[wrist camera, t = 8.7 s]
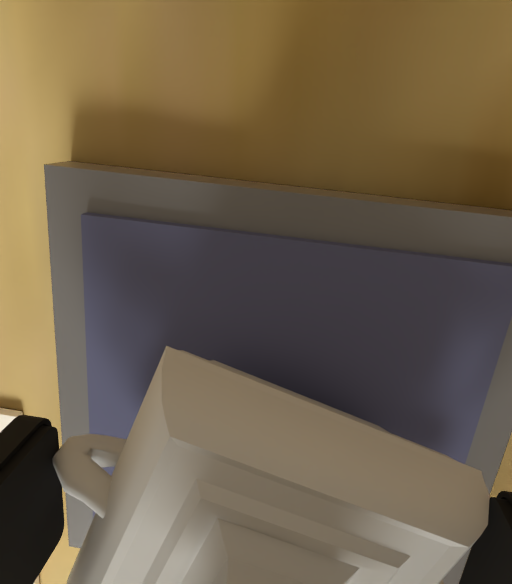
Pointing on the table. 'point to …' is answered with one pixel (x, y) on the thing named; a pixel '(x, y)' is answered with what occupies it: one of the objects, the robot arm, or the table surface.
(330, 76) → the table surface
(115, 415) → the ink pad
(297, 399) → the stamp
